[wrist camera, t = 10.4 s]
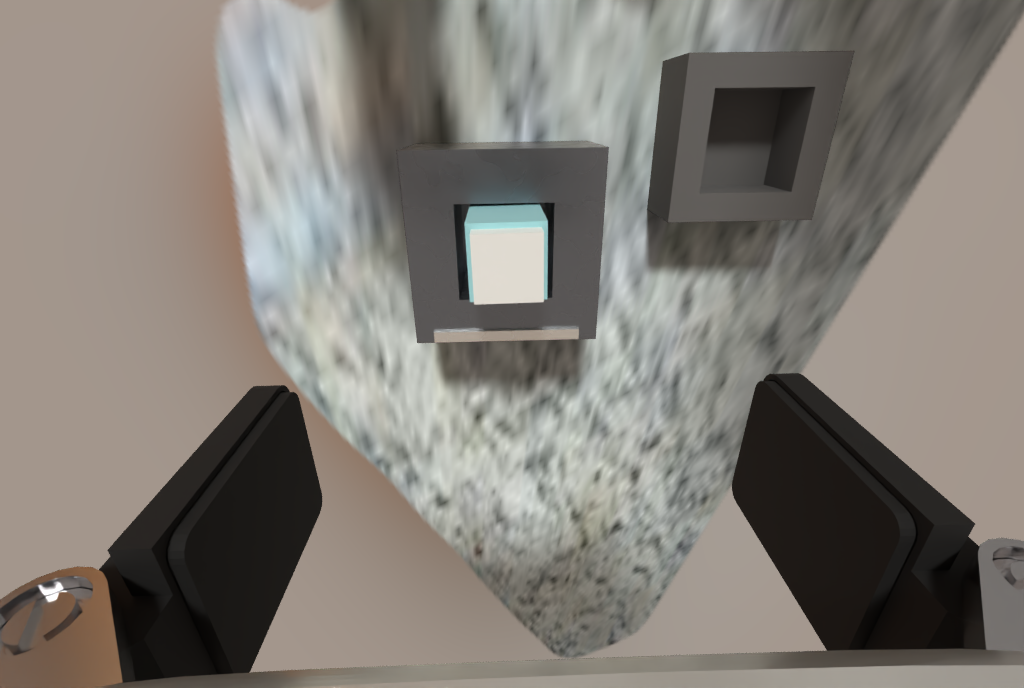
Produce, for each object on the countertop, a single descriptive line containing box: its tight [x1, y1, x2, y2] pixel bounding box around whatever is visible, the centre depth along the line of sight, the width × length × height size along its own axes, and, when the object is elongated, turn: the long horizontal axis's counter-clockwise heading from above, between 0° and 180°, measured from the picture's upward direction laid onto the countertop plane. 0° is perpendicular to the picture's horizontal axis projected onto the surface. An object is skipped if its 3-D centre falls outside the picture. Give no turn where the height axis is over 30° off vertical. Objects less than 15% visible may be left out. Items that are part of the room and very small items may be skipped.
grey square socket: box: [647, 51, 854, 222], centre depth 27 cm, size 8×8×4 cm
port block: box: [396, 141, 609, 343], centre depth 27 cm, size 10×10×6 cm
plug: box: [465, 203, 548, 305], centre depth 25 cm, size 4×4×10 cm
